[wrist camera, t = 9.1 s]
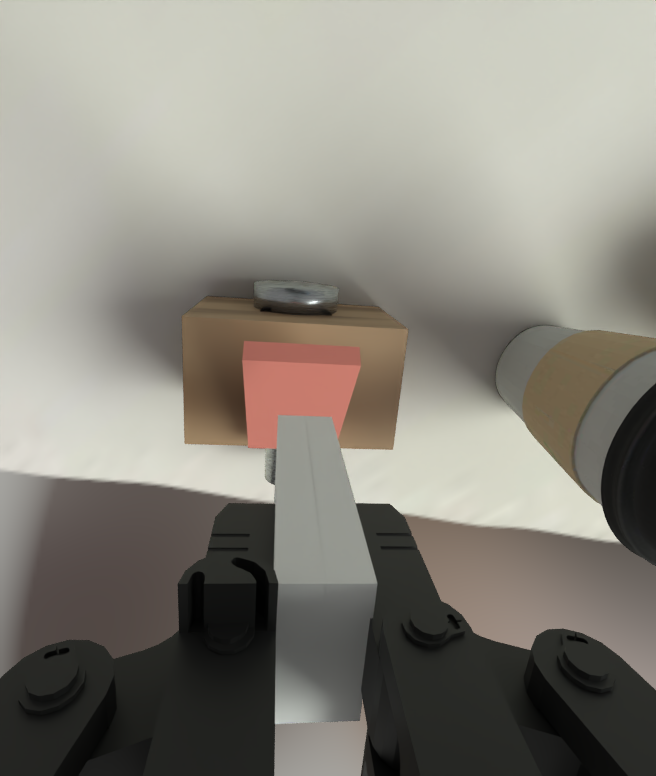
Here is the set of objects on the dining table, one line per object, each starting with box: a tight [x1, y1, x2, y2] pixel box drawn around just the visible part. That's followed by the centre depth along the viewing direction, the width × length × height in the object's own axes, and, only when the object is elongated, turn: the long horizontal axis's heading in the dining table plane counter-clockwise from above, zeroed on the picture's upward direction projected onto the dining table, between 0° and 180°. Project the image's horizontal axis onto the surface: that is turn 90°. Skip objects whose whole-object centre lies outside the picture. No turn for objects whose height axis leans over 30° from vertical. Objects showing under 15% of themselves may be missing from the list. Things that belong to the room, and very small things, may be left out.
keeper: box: [242, 341, 361, 449], centre depth 19 cm, size 7×4×1 cm
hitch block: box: [182, 296, 408, 450], centre depth 25 cm, size 6×10×7 cm, turn 86°
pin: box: [254, 280, 339, 485], centre depth 26 cm, size 11×4×4 cm, turn 176°
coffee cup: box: [495, 325, 656, 566], centre depth 23 cm, size 9×9×15 cm
